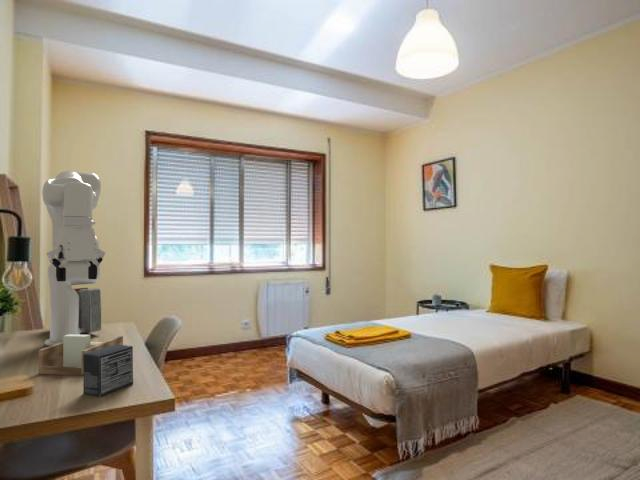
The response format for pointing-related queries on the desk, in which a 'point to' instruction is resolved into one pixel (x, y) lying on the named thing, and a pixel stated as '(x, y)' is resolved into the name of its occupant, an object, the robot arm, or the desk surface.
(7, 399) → the desk surface
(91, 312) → the decorative stone tablet
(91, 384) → the small box
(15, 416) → the desk surface
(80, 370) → the rack
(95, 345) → the offcut
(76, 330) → the robot arm
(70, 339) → the white box
